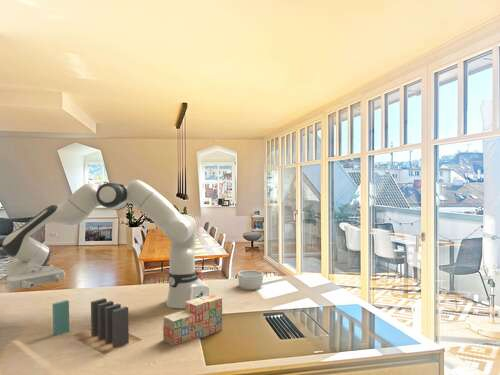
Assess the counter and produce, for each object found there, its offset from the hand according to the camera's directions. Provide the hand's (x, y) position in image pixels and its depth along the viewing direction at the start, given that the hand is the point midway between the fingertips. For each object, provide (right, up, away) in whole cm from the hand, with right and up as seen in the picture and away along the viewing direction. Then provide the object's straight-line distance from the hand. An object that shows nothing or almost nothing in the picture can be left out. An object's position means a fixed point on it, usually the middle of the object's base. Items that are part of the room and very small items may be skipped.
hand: (44, 282), depth 145 cm
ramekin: (+77, -15, +53) cm, 94 cm away
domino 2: (+24, -16, -8) cm, 30 cm away
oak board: (+27, -17, -11) cm, 34 cm away
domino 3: (+27, -16, -11) cm, 33 cm away
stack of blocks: (+57, -17, -8) cm, 60 cm away
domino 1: (+10, -17, -7) cm, 21 cm away
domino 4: (+31, -16, -14) cm, 37 cm away
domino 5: (+34, -16, -17) cm, 41 cm away
